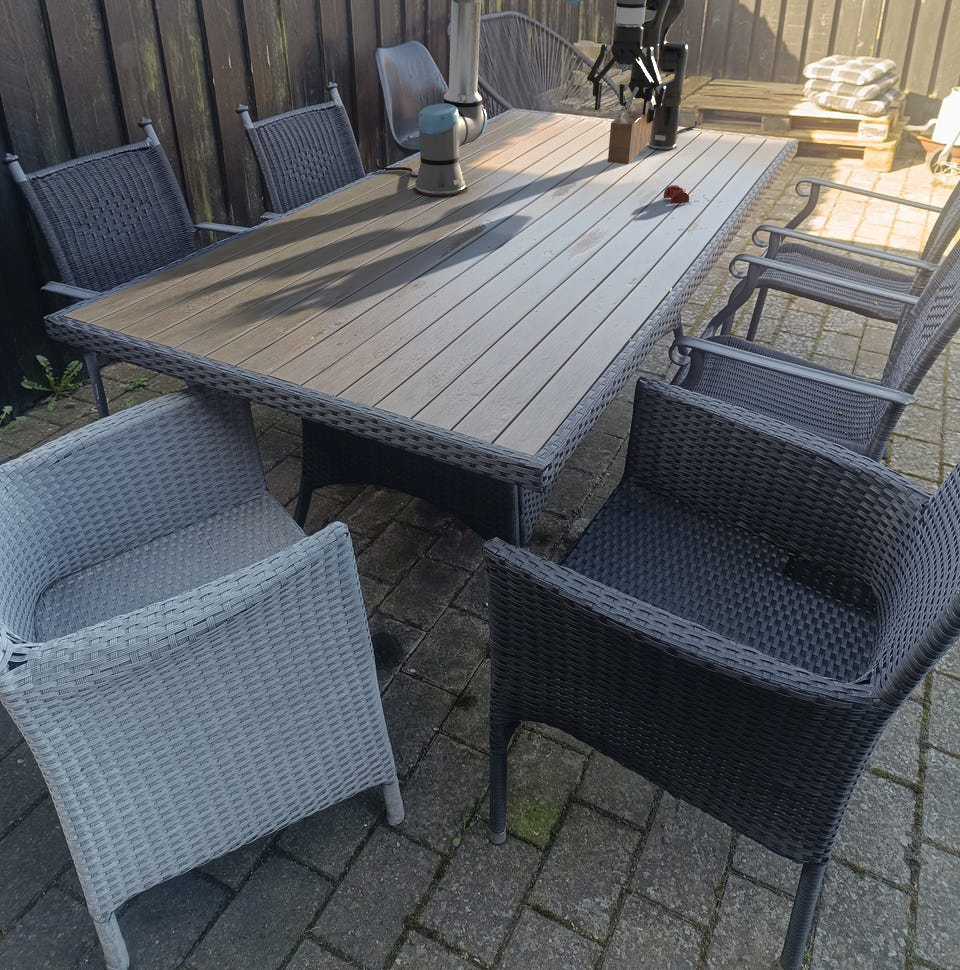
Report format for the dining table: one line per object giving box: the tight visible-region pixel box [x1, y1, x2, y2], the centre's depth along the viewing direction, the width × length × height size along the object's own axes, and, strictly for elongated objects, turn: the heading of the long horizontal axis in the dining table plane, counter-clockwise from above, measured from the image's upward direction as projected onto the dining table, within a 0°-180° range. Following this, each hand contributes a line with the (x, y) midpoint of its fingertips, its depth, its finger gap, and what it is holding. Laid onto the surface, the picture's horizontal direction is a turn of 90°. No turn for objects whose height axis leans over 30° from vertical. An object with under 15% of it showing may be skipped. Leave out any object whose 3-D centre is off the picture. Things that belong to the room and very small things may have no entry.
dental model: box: [663, 184, 690, 205], centre depth 248 cm, size 6×4×8 cm
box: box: [607, 102, 652, 165], centre depth 251 cm, size 27×6×11 cm, turn 158°
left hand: (620, 111), depth 234 cm, fingers open, 13 cm apart
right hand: (639, 121), depth 257 cm, fingers closed on box, 6 cm apart
